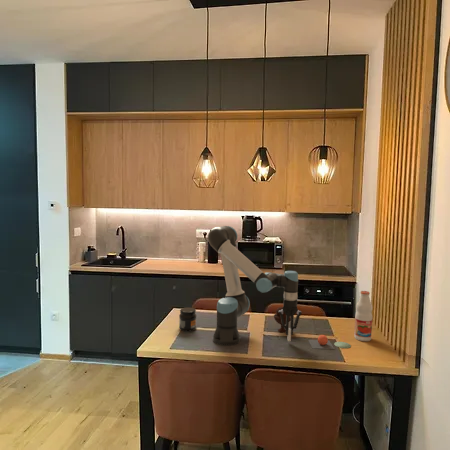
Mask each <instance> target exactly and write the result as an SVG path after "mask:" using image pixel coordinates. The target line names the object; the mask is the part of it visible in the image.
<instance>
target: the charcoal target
mask: <svg viewBox="0 0 450 450" xmlns="http://www.w3.org/2000/svg"><path fill="white" fill-rule="evenodd" d="M307 341H308V343H309V345H310V347H311V348H312V349H315V350H316V349H318V350H319V349H320V350H335V349H336V348H335V347H334V346H333V343H331V341H330V340H329V339H328V342H327V344H326V345H320V344H319V343H318V339H308V340H307Z"/></svg>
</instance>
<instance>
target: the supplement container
mask: <svg viewBox="0 0 450 450" xmlns="http://www.w3.org/2000/svg"><path fill="white" fill-rule="evenodd" d="M179 313H180V314H179V321H178V322H179V327H178V328H179V330H180V331H182V332H193V331H194V330H196V329H197V310H196V308H194V307H183V308H180V309H179Z"/></svg>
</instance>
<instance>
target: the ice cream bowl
mask: <svg viewBox="0 0 450 450" xmlns="http://www.w3.org/2000/svg"><path fill="white" fill-rule="evenodd" d="M282 308H283V306H280V307H277V308H276V312H275V313H274V314H273V318H274V321H275V322H276V323H277V324H279V325H280V328H278V329H277V332H279V333H283V332H284V333H286V329H285V328H283V326H282V321H281V316H280V314H279V312H278V311H279V310H282ZM282 315H283V319H284V323H285V325H286V314H285V313H284V311H283V314H282ZM290 322H291V316H289V323H290Z"/></svg>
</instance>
